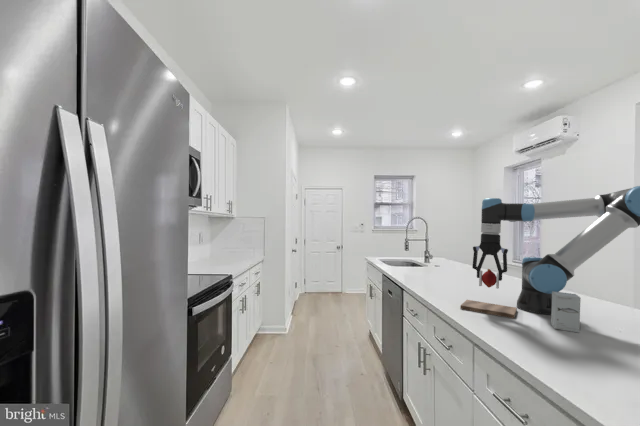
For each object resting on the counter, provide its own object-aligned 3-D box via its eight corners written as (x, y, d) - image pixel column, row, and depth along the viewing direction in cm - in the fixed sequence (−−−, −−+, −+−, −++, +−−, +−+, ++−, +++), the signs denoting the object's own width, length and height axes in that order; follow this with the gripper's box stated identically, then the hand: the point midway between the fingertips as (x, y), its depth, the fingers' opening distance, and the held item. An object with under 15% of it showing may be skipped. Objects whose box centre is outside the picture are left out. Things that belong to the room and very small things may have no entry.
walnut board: (516, 311, 138) (516, 307, 138) (514, 318, 127) (514, 314, 127) (466, 302, 150) (466, 299, 150) (460, 308, 138) (460, 305, 138)
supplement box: (554, 329, 115) (555, 294, 116) (550, 323, 122) (551, 290, 122) (580, 333, 112) (581, 297, 112) (575, 327, 118) (575, 293, 119)
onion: (493, 286, 141) (493, 268, 142) (499, 289, 136) (499, 270, 136) (479, 285, 142) (479, 267, 142) (484, 288, 136) (485, 269, 136)
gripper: (465, 232, 142) (463, 284, 141) (515, 235, 131) (513, 291, 130) (468, 232, 148) (467, 282, 147) (516, 234, 137) (514, 289, 136)
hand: (488, 286), depth 139 cm, fingers closed on onion, 6 cm apart
